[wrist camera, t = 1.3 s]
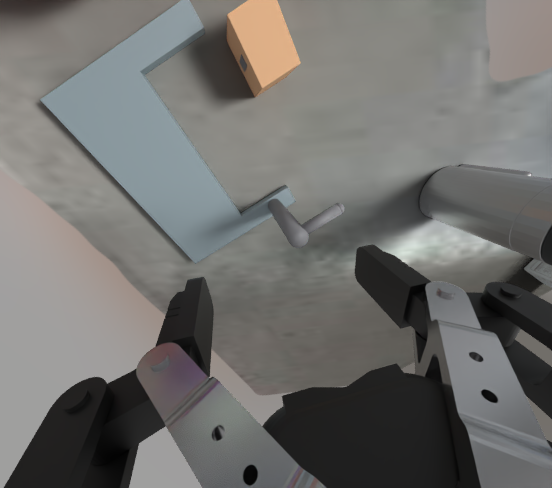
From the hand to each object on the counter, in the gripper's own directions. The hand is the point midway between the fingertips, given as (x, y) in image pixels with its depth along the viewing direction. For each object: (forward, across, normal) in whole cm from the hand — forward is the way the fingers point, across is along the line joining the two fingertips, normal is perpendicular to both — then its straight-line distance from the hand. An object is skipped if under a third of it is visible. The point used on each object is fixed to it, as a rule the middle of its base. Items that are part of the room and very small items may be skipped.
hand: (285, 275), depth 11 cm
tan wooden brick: (+23, -4, -14) cm, 27 cm away
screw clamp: (+23, +5, -5) cm, 24 cm away
